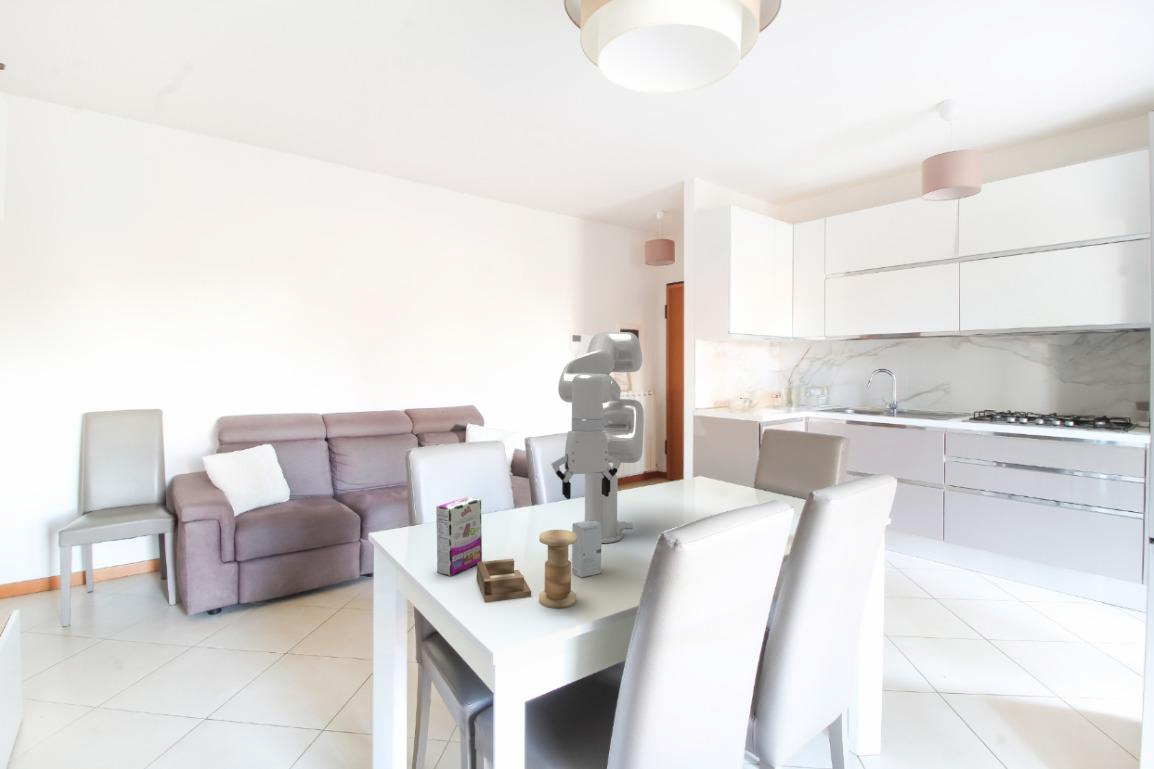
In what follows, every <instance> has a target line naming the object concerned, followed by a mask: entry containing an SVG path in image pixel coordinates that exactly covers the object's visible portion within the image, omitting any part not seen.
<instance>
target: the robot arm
mask: <svg viewBox="0 0 1154 769" xmlns="http://www.w3.org/2000/svg"><path fill="white" fill-rule="evenodd" d="M642 353H643V351H642V348H641V343H640V341H639V338H638V337H637V335H636V334H634V333H633V332H630V331H628V332H627V331H626V332H625V331H624V332H623V331H604V332H599V333H596V334H595V335H594V336H593V337H592V338H591V340H590V342H589V345H588V347H587V351H586V353H585V354H583V355H581V356H579V357H576V358H574V359H572V360H571V361H568V363H566V365H565V366H564V367H563V369H562V372H561V374H560V378H559V381H558V388H557V389H558V390H557V391H558V394H559V397H560V399H561V400H562V401H563V402H565V403H571V430H568V431H567V435H566V441H565V449H564V456H562V457H560V458H558V459H557V460H555V461H554V462H552V463H551V467H552V469H553V471H554V474H555V475H556V476H557V477H558V478H559V479H560V480H561V481H562V482H561V483H562V484H561V485H562V487H561V490H562V491H561V492H562V493H561V494H562V496H564V498H565V499H567V500H570V499H571V497H572V495H571V494H572V493H571V492H572V491H571V490H572V483H571V482H570V480H571V479H572V477H573V476H574V475H583V474H584V521H590V520H593V521H596V522H598V523H601V544H610V543H614V542H615V543H616V542H618V541H620V540H621V539H623V530H625V531H626V530H633V528H634V525H633V522H625V521H619V520H618V486H619V485H618V484H619V483H618V480H619V479H618V476H617V473H618V469H619V468H620V466H621V464H624V463H625V464H634V463H637V462H639V461H640V460H641V458H642V457H643V456H642V455H643V451H644V450H643V449H644V446H643V445H644V423H645V414H644V408H643V404H642V403H641V401H639V400H637V399H630V398H628V399H626V398H621V394H622V390H621V386H620V384H618V382H617V381H616V380H615V378H613V377H612V376H611V375H610V374H611V373H637V372H638V371H639V370H640V369H641V367H642V365H643V354H642ZM610 463H611V464H612V466H611V465H610ZM562 465H563V466H564V470H565V471H564V472H562V470H561V469H560V467H561V466H562Z"/></svg>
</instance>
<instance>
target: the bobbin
mask: <svg viewBox="0 0 1154 769" xmlns="http://www.w3.org/2000/svg"><path fill="white" fill-rule="evenodd" d="M572 531H573V530H572ZM572 531H571V530H568V529H567V530H566V529H550V530H545V531H542V532H540V534H538V535H539V536H538V537H539V542H540V543H541V544H542V545H545V546H547V560H545V561H544V590H542V591H541V592H540V593H539V594H538V601H539V602H538V603H539V604H541V605H542V606H543V607H546V608H550V609H565V608H570V607H572V606H574V605H575V604H576V603H577V593H576V592H575V591H573V590H572V561H570V560H569V546H572V544H574V543H575V542H576V541H577V534H576V533H574V532H572Z"/></svg>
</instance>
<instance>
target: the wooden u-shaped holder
mask: <svg viewBox="0 0 1154 769" xmlns="http://www.w3.org/2000/svg"><path fill="white" fill-rule="evenodd" d="M476 582H477V585H478V588H479V589H480V592H481V595H482V598H483V601H484V603H487V602H489V603H490V602H497V601H504V600H505V601H506V600H512V599H520V598H528V597H529V598H530V597H532V590H531V588H530V586H529V585H528V583H527V581H526V579H525V576H524V575H523V574H522V573H521V571H520V570H519V569H515V559H514V558H507V559H505V558H504V559H496V560H486V561H482V562H477V565H476Z"/></svg>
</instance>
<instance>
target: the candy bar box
mask: <svg viewBox="0 0 1154 769" xmlns="http://www.w3.org/2000/svg"><path fill="white" fill-rule="evenodd" d="M435 508H436V510H435V512H436V514H435V515H436V557H437V558H436V565H437V574H440V575H444V576H447V577H448V576H449V577H453V576H455V575H457V574H461V573H463V572H465V571H466V570H468V569H471V568H472V567H473V568H474V567H475V566H477V562H483V552H482V551H483V546H482V544H483V543H482V542H483V541H482V537H483V536H482V535H483V534H482V499H481V498H476V497H471V496H467V497H464V498H461V499H460V498H459V499H457V500H454V501H450V502H447V503H444V504H443V503H442V504H440V505H437V506H435Z"/></svg>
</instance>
